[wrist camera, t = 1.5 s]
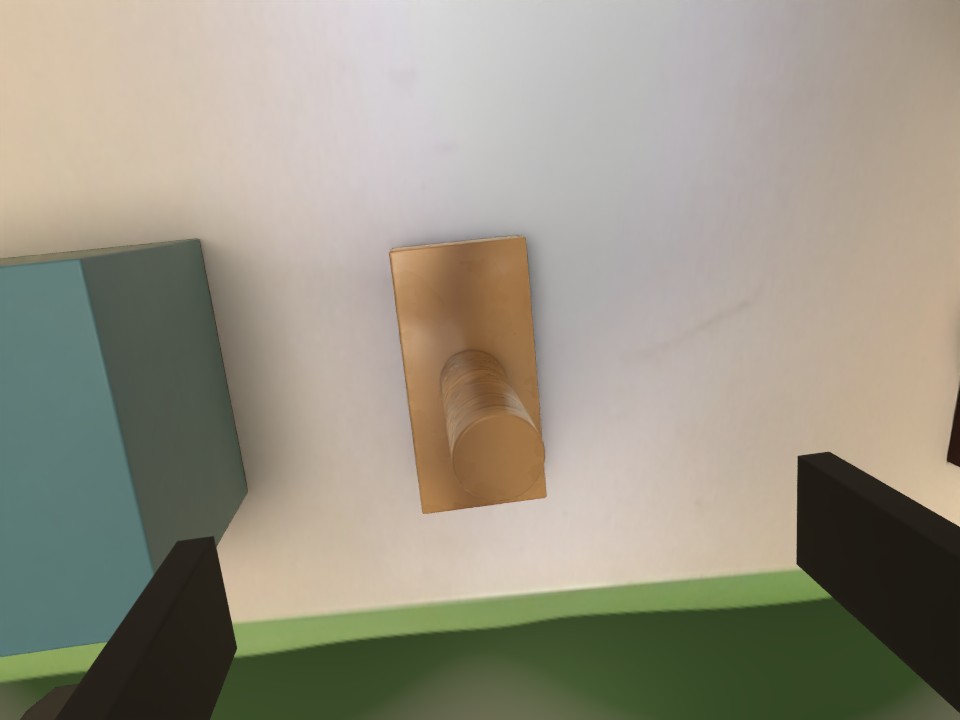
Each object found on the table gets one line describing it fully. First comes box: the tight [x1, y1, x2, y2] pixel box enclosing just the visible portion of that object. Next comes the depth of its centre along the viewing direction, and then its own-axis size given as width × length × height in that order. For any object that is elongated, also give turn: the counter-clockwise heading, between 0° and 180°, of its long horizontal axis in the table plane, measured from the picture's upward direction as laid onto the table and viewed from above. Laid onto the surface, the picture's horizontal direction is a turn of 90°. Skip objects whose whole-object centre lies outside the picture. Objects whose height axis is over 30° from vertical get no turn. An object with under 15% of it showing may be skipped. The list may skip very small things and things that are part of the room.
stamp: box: [389, 235, 547, 514], centre depth 26 cm, size 6×12×12 cm, turn 6°
